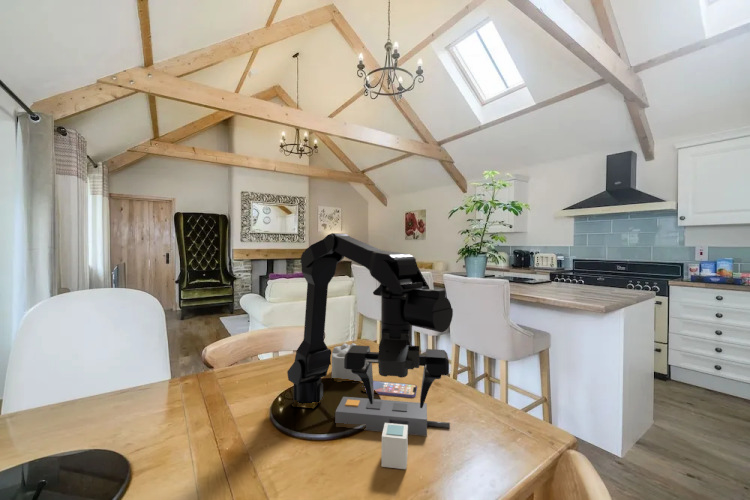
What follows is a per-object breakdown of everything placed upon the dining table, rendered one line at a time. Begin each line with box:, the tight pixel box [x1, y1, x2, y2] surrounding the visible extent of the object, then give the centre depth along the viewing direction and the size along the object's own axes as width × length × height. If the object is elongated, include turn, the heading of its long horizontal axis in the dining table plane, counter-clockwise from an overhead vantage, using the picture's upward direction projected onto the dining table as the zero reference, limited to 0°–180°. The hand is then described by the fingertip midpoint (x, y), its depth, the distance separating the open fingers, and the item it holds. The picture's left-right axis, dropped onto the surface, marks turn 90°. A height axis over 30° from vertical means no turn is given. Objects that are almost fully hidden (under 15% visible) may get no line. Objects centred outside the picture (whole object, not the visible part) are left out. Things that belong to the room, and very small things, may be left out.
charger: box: [381, 423, 409, 470], centre depth 60 cm, size 4×7×6 cm
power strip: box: [334, 396, 451, 437], centre depth 72 cm, size 25×7×4 cm, turn 81°
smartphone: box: [373, 380, 418, 399], centre depth 89 cm, size 1×7×15 cm
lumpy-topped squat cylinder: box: [331, 342, 362, 382], centre depth 100 cm, size 10×13×9 cm
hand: (396, 405), depth 59 cm, fingers open, 9 cm apart
